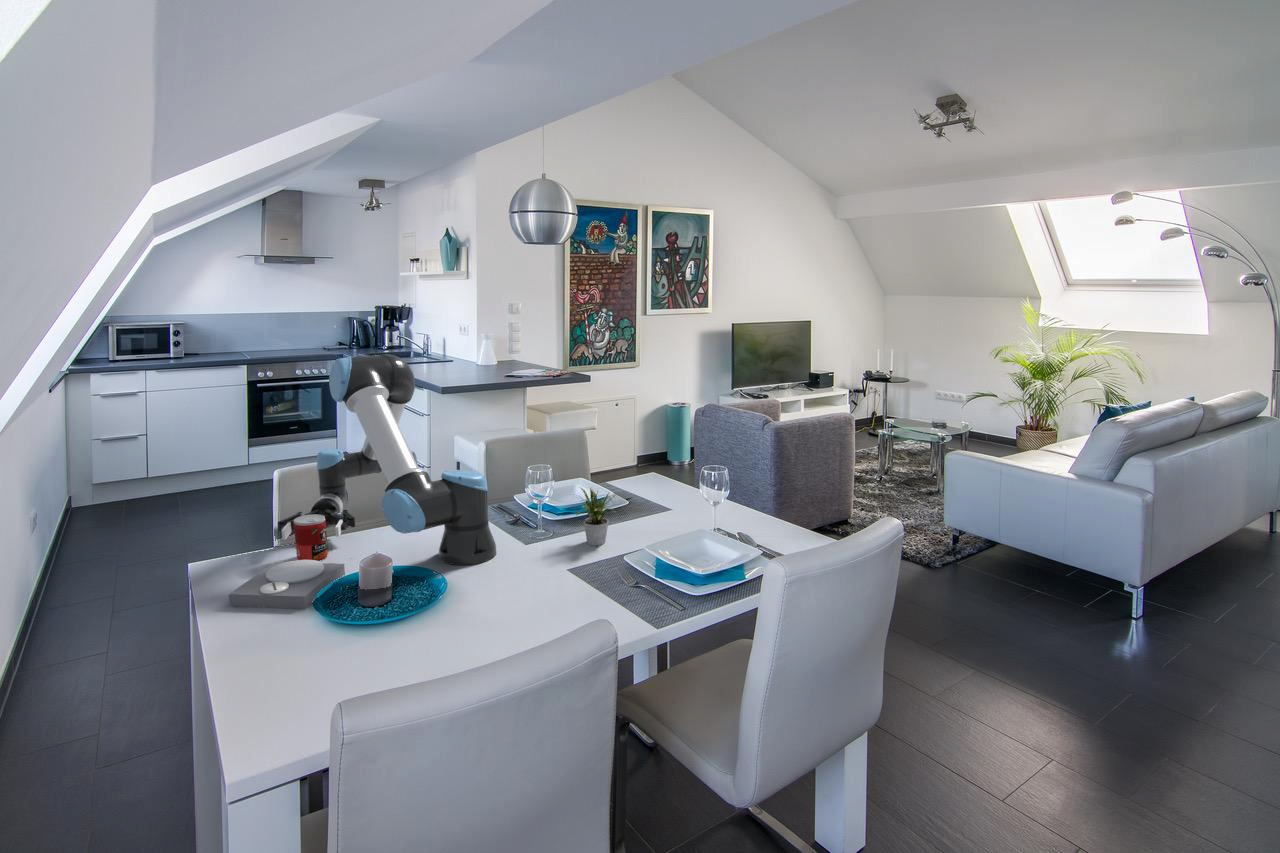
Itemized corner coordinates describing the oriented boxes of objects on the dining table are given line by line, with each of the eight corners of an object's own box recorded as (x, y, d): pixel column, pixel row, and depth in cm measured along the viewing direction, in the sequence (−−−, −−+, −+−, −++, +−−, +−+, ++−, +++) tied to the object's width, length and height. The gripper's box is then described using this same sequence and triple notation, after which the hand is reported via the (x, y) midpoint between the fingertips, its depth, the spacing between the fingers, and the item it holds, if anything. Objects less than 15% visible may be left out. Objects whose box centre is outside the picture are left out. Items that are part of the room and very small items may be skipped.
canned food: (317, 564, 203) (314, 524, 201) (290, 561, 205) (286, 522, 202) (334, 553, 210) (331, 515, 208) (308, 551, 212) (304, 513, 210)
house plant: (556, 542, 219) (555, 486, 216) (590, 530, 229) (590, 476, 226) (592, 554, 210) (592, 496, 207) (626, 540, 220) (626, 485, 217)
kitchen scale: (345, 574, 196) (343, 560, 195) (305, 608, 176) (304, 592, 175) (276, 572, 197) (275, 558, 196) (230, 606, 178) (228, 589, 177)
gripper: (372, 519, 231) (360, 543, 211) (283, 524, 227) (262, 549, 206) (370, 495, 230) (358, 517, 209) (280, 499, 225) (259, 522, 205)
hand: (310, 533), depth 208 cm, fingers open, 13 cm apart
